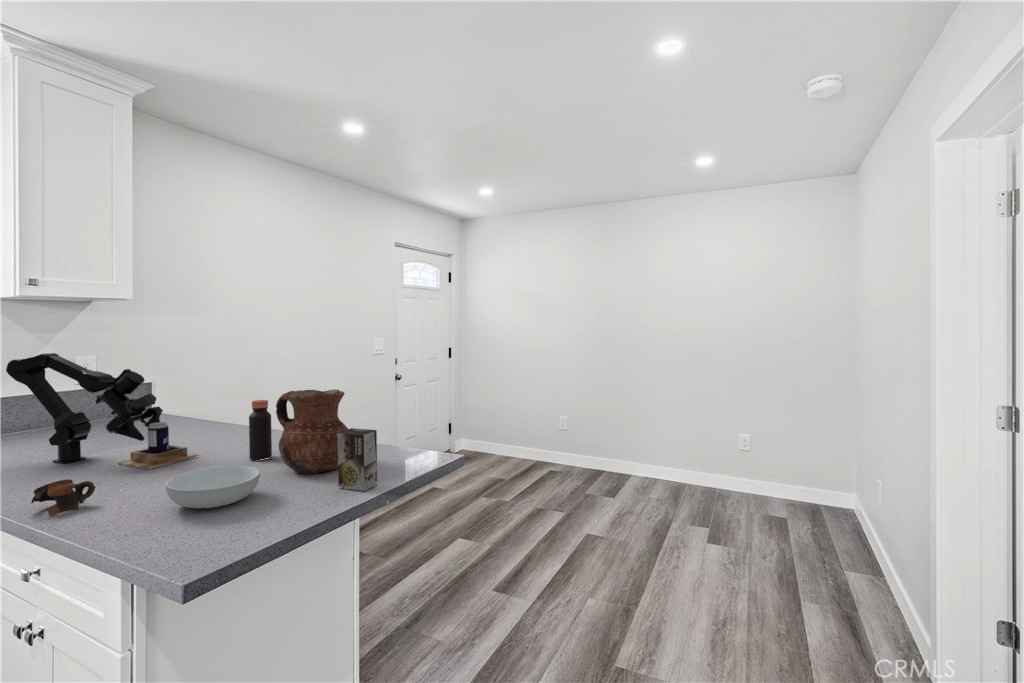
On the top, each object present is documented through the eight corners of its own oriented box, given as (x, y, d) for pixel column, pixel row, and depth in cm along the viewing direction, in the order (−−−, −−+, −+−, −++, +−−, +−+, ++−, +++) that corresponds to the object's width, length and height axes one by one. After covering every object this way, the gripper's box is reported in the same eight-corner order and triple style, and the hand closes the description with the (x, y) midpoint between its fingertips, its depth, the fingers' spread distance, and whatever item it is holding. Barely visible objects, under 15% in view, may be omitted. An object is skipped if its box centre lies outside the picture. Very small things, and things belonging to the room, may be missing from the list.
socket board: (118, 464, 160) (117, 453, 160) (167, 452, 175) (167, 442, 175) (150, 469, 154) (150, 458, 154) (198, 456, 169) (198, 446, 169)
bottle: (275, 457, 168) (275, 400, 167) (256, 462, 162) (255, 403, 162) (264, 455, 172) (263, 398, 171) (245, 459, 166) (244, 401, 165)
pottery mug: (32, 522, 114) (23, 490, 116) (44, 527, 122) (35, 496, 123) (96, 498, 121) (87, 468, 123) (104, 504, 129) (95, 475, 130)
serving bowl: (191, 525, 112) (191, 495, 112) (150, 507, 123) (149, 480, 123) (276, 498, 130) (276, 472, 129) (233, 484, 141) (233, 460, 140)
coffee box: (378, 485, 140) (377, 429, 139) (364, 492, 134) (364, 434, 133) (351, 481, 143) (351, 427, 142) (337, 488, 137) (336, 432, 136)
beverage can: (166, 460, 163) (165, 424, 162) (145, 461, 161) (144, 425, 160) (171, 455, 168) (170, 421, 168) (151, 457, 166) (151, 422, 166)
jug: (343, 455, 171) (342, 385, 170) (360, 471, 153) (360, 392, 153) (274, 465, 159) (272, 389, 158) (284, 483, 141) (282, 398, 140)
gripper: (115, 391, 154) (150, 426, 155) (157, 383, 173) (188, 415, 173) (90, 415, 154) (125, 450, 155) (135, 405, 173) (166, 436, 174)
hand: (153, 436), depth 164 cm, fingers open, 9 cm apart
